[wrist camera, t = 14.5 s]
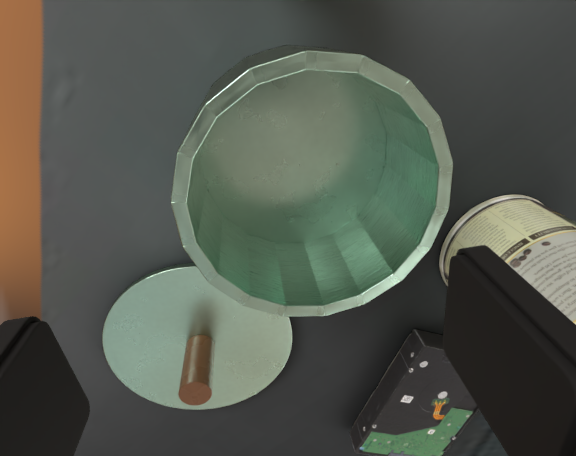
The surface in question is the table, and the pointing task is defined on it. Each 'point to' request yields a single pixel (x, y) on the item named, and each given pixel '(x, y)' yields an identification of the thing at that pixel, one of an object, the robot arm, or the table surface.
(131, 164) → the table surface
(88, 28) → the table surface
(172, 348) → the lid
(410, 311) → the table surface
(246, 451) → the table surface
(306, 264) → the pot
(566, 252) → the coffee can
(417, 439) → the disk drive
